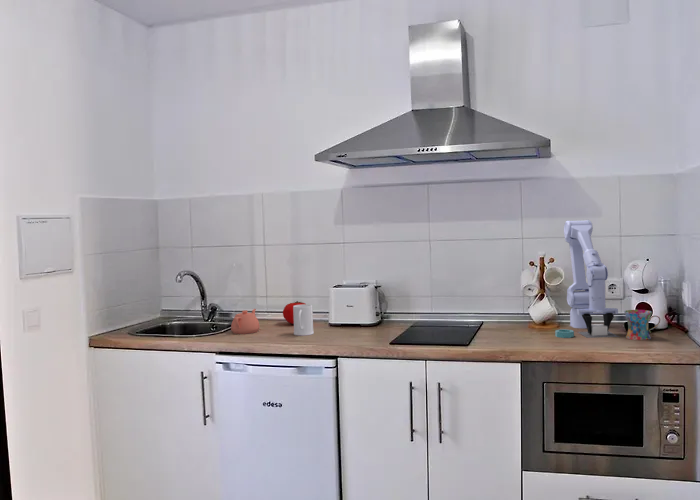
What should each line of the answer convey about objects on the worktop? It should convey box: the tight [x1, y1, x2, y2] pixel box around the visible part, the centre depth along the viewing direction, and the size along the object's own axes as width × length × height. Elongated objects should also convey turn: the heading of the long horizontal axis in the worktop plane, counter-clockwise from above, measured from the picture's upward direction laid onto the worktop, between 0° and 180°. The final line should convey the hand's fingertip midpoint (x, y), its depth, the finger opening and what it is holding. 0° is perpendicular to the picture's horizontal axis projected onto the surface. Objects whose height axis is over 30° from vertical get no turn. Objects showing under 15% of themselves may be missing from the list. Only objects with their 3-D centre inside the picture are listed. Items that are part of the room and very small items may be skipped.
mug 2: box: [623, 309, 661, 341], centre depth 239 cm, size 12×9×11 cm
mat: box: [577, 330, 620, 339], centre depth 249 cm, size 12×12×1 cm
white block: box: [591, 323, 609, 336], centre depth 248 cm, size 5×5×3 cm
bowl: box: [554, 328, 575, 339], centre depth 247 cm, size 6×6×3 cm
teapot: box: [230, 308, 261, 335], centre depth 288 cm, size 12×18×10 cm
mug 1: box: [293, 303, 315, 337], centre depth 276 cm, size 12×8×12 cm
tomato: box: [282, 300, 306, 325], centre depth 304 cm, size 13×12×11 cm
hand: (597, 333), depth 249 cm, fingers closed on white block, 5 cm apart
